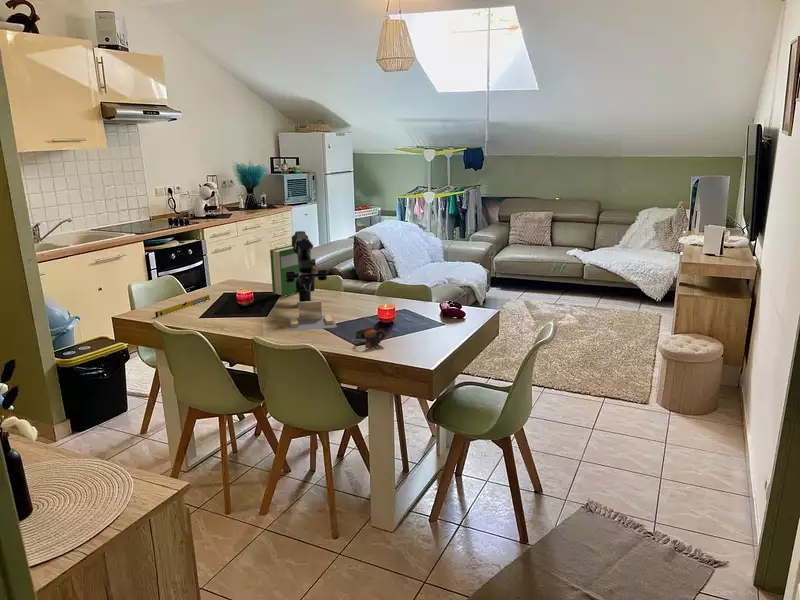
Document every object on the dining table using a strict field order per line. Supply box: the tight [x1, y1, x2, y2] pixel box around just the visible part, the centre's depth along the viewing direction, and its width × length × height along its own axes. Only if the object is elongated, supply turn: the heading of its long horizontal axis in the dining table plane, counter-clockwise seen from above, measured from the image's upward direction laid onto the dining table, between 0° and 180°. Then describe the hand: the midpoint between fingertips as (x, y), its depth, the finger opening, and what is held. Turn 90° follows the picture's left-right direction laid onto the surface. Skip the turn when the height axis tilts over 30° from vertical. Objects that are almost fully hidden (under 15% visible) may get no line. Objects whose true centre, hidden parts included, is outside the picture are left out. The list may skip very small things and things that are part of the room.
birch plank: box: [297, 300, 323, 321], centre depth 269 cm, size 2×10×8 cm, turn 103°
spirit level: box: [154, 294, 211, 318], centre depth 294 cm, size 33×1×3 cm, turn 154°
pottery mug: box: [355, 326, 387, 349], centre depth 240 cm, size 12×10×8 cm
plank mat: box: [287, 314, 338, 332], centre depth 265 cm, size 19×20×3 cm
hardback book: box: [269, 244, 299, 297], centre depth 319 cm, size 18×7×24 cm, turn 147°
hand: (308, 291), depth 275 cm, fingers closed
